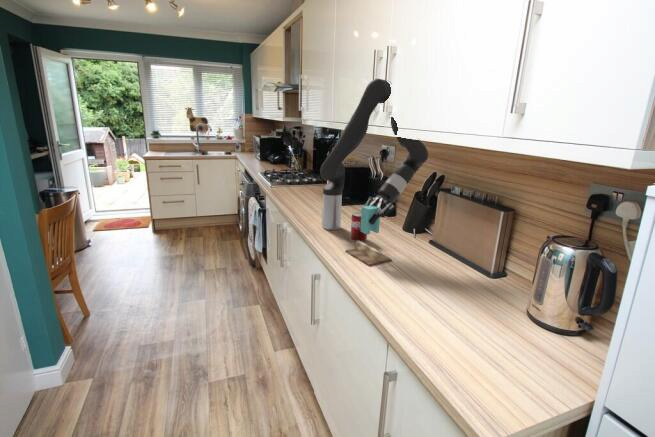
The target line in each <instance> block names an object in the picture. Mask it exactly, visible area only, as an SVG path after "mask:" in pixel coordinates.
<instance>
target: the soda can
mask: <svg viewBox="0 0 655 437" xmlns="http://www.w3.org/2000/svg"><path fill="white" fill-rule="evenodd" d="M350 223H351V224H350V225H351V226H350V227H351V228H350V239H351V241H352V242H356V241H361V242H363V243H364V242H365V241H367V239H368V235H367V234H365V233H363V232H361V212H360V211H359V212H357V211H356V212H353V213H352V214H351V222H350Z"/></svg>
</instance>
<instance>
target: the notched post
mask: <svg viewBox="0 0 655 437" xmlns="http://www.w3.org/2000/svg"><path fill="white" fill-rule="evenodd" d="M376 210H377V206H374V205H373V206H365V205H364V206H361V210H360V211H361V232H363V233H365V234H367V236H368V235H370V234H371V232H373V233H376V234H380V224H381V223H380V218H381V217H380V218H378V219H377V220H376V222H375V223H374V224H373V225H371V224H370V223H369V220H370V218H371V217H372V216H373V215H374V214H375V212H376ZM379 212H380V211H379Z"/></svg>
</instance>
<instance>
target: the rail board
mask: <svg viewBox="0 0 655 437" xmlns="http://www.w3.org/2000/svg"><path fill="white" fill-rule="evenodd" d="M345 253H347V254H348V255H350V256H352V257H353V258H354V259H356V260H358V261H359V262H361V263H363V264H364V265H365V266H368V267H372V266H375V265H376V266H377V265H380V264H384V263H389V262H392V258H391V257H389V256H387V255H386V254H383V253H382V251H380V250H378V249H376V248H375V247H373V246H371V245H369V244H367V243H364V242H361V241H356V244H355V247H354V248H349V249H345Z"/></svg>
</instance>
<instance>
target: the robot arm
mask: <svg viewBox="0 0 655 437" xmlns="http://www.w3.org/2000/svg"><path fill="white" fill-rule="evenodd" d="M386 80H387V79H381V78H373V79H372V80H371V81H369V83H368V84H367V85H366V88H365V90H364V92H363V94H362V96H361V98H360V100H359V103H358V105H357V107H356V109H355V110H354V112H353V114H352V116H351V117H350V119H349V121H348V122H347V124H346V125H345V127H344V129H343V131H342V133H341V135H340V137H339V138H338V140H337V141H336V142H335V143H336V144H335V145H334V147H333V149H331V152H330V153H329V154H328V156H327V157H326V159H325V160H324V161H323V163H322V164H321V166H320V169H319V170H320V171H319V174H320V177H321V178H322V180H324V181H327V184H326V185H325V186H323V189H322V208H321V227H322V228H323V229H324V230H329V231H337V230H340V229H341V226H342V225H341V224H342V202H343V200H342V199H343V198H342V197H343V196H342V195H343V190H344V187H345V177H346V175H345V174H346V169H345V165H344V163H343V161H344V160H345V159H346V158H347V157H348V156H349V155H350V154H352V153H353V152H354V151H355V150H356V149H357V148H358V146H360V144H361V143H362V141H363V139H364V138H365V136H366V134H367V132H368V129H369V122H370V118H371V116H372V114H373V112H374V110H375V109H376V107H377V106H378V104H381V103H384V102H385V101H386V100H387V99H388V98H389V96H390V94H391V87H390V84H389V83H388V82H387V81H388V80H387V81H386ZM390 126H391V127H390V128H391V129H392V132H393V134H394V136H395V135H397V131H398V127H397V123H396V121H395V120H394V118H393V117H391V122H390ZM395 138H396V140H397V141H398V144H399V145H400V146H401V148H405V149H406V150H407V152H408V154H407V156H406V157H405V158H404V160H403V162H402V163H401V164H400V165H399V166H397V168H396V169H395V170H394V172H393V173H391V175H390V176H389V177H388V178H387V179H386V181H385V182H384V183H383V184H382V185H381V187H380V188H379V189H378V190H377V191H378V194H377V195H376V196H375V197H372V196H369V197H368V199H367V201H366V202H365V205H364V206H373V205H374V206H377V210H376V212H375V214H374V215H373V216H372V217H371V218H370V220H369V223H370V224H371V225H373V224H374V223H375V222H376V220H377V219H378V218H382V219H383V218H386V216H387V215H388V214H390V213H391V212H392V211H393V210H394V209H395V206H394V205H393V204H394V203H395V202H396V200H397V199H398V198H399V196H400V195H401V194H402V193H403V192H404V190H405V188H406V187H407V185H408V184H409V183H410V181H412V178H414V176H415V174H416V172H418V170H420V168H421V167H422V166H423V165H424V163H426V161H427V160H428V158H429V151H428V149H427V147H426V145H425V144H424V143H423V142H422V141H421V140H420V139H419V140H420V141H419V140H412V139H406V138H401V137H396V136H395ZM379 211H380V212H379Z"/></svg>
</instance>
